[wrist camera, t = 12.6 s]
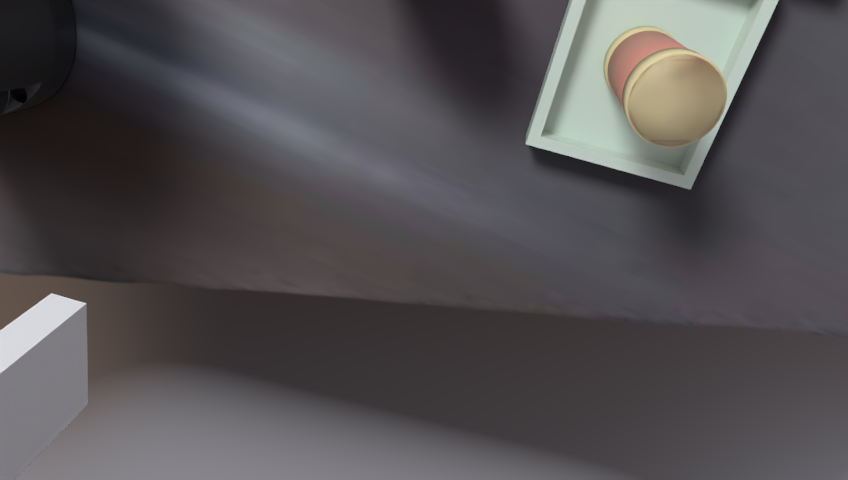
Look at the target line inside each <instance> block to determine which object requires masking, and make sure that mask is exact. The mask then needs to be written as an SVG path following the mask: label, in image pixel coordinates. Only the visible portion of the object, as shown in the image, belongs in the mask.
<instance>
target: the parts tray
mask: <svg viewBox="0 0 848 480" xmlns="http://www.w3.org/2000/svg"><path fill="white" fill-rule="evenodd" d="M778 1H779V0H569V3H568V6H567V9H566V12H565V15H564V18H563V22H562V25H561V28H560V31H559V34H558V37H557V40H556V43H555V46H554V50H553V53H552V56H551V59H550V62H549V65H548V68H547V71H546V74H545V78H544V81H543V84H542V87H541V90H540V93H539V96H538V99H537V102H536V106H535V109H534V112H533V115H532V118H531V121H530V124H529V127H528V130H527V134H526V144H527V145H530V146H534V147H537V148H541V149H545V150H548V151H552V152H556V153H559V154H563V155H566V156H570V157H574V158H577V159H581V160H585V161H588V162H592V163H595V164H599V165H603V166H606V167H610V168H614V169H617V170H621V171H624V172H628V173H632V174H635V175H639V176H643V177H646V178H650V179H653V180H657V181H661V182H664V183H668V184H672V185H675V186H679V187H682V188H686V189H690V190H691V188H692V185H693V183H694V181H695V179H696V177H697V175H698V172H699V170H700V168H701V166H702V164H703V162H704V160H705V157H706V155H707V153H708V151H709V149H710V147H711V145H712V142H713V140H714V138H715V136H716V134H717V132H718V130H719V127H720V125H721V123H722V121H723V119H724V117H725V115H726V112H727V110H728V108H729V106H730V104H731V102H732V100H733V97H734V95H735V93H736V91H737V89H738V87H739V84H740V82H741V80H742V78H743V76H744V74H745V72H746V69H747V67H748V65H749V63H750V61H751V59H752V57H753V54H754V52H755V50H756V48H757V46H758V44H759V42H760V39H761V37H762V35H763V33H764V31H765V29H766V27H767V24H768V22H769V20H770V18H771V16H772V14H773V12H774V9H775V7H776V5H777V3H778ZM639 26H652V27H656V28H659V29H661V30H663V31H665V32H667V33H668V34H670V35H671V36H672V37H674V38H675V39H676V40H677V42H679V43H680V44H682V45H683V46H685V47H686V48H688V49H690V50H693V51H695V52H697V53H699V54H701V55H702V56H704V57H706V58H707V59H709V60H710V61H711V62H713V63H714V64H715V65H716V66H717V67H718V69H719V70H720V71H721V73H722V75H723V77H724V79H725V82H726V87H727V102H726V106H725V109H724V112H723V114H722V116H721V118H720V120H719V121H718V123H717V124H716V126H715V127H714V128H713V129H712V130H711V131H710V132H709V133H708V134H707V135H705V136H704V137H703V138H701V139H699V140H698V141H696V142H694V143H691V144H689V145H686V146H682V147H676V148H665V147H659V146H655V145H652V144H650V143H648V142H646V141H645V140H643V139H642V138H641V137H639V136H638V135H637V134H636V132H635V131H634V130H633V128H632V127H631V125H630V123H629V121H628V120H627V118H626V116H625V113H624V110H623V107H622V105H621V103H620V102H619V100H618V98H617V97H616V96H615V95H614V94H613V92H612V91H611V89H610V88H609V86H608V84H607V82H606V80H605V77H604V72H603V63H604V58H605V55H606V52H607V50H608V48H609V47H610V45H611V44H612V42H613V41H614V40H615V39H616V38H617V37H618V36H619V35H621V34H622V33H624V32H625V31H627V30H629V29H632V28H635V27H639Z"/></svg>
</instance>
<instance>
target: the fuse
mask: <svg viewBox="0 0 848 480" xmlns="http://www.w3.org/2000/svg"><path fill="white" fill-rule="evenodd" d="M603 72H604V77H605V80H606V82H607V84H608V86H609V88H610V89H611V91H612V92H613V94H614V95H615V96H616V97H617V98H618V100H619V102H620V103H621V105H622V107H623V110H624V113H625V116H626V118H627V120H628V121H629V123H630V125H631V127H632V128H633V130H634V131H635V132H636V134H637V135H638V136H639V137H641V138H642V139H643V140H645V141H646V142H648V143H650V144H652V145H655V146H659V147H665V148H676V147H682V146H686V145H689V144H691V143H694V142H696V141H698V140H699V139H701V138H703V137H704V136H705V135H707V134H708V133H709V132H710V131H711V130H712V129H713V128H714V127H715V126H716V124H717V123H718V121H719V120H720V118H721V116H722V114H723V112H724V109H725V106H726V102H727V87H726V82H725V79H724V77H723V75H722V73H721V71H720V70H719V69H718V67H717V66H716V65H715V64H714V63H713V62H711V61H710V60H709V59H707V58H706V57H704V56H702V55H701V54H699V53H697V52H695V51H693V50H690V49H688V48H686V47H685V46H683V45H682V44H680V43H679V42H677V40H676V39H675V38H674V37H672V36H671V35H670V34H668V33H667V32H665V31H663V30H661V29H659V28H656V27H652V26H639V27H635V28H632V29H629V30H627V31H625V32H624V33H622V34H621V35H619V36H618V37H617V38H616V39H615V40H614V41H613V42H612V44H611V45H610V47H609V48H608V50H607V52H606V55H605V58H604V63H603Z"/></svg>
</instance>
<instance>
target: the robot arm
mask: <svg viewBox="0 0 848 480" xmlns="http://www.w3.org/2000/svg"><path fill="white" fill-rule="evenodd" d="M75 47H76V28H75V20H74V14H73V10H72V6H71V2H70V0H0V115H4V114H10V113H14V112H17V111H20V110H23V109H27V108H30V107H33V106H35V105H38V104H40V103H42V102H44V101H46V100H47V99H49V98H50V97H51V96H53V95H54V94H55V93H56V92H57V91H58V90H59V89H60V87H61V86H62V85H63V83H64V82H65V80H66V78H67V76H68V74H69V72H70V70H71V67H72V64H73V60H74V55H75ZM87 368H88V367H87V304H86V303H83V302H79V301H76V300H73V299H69V298H66V297H63V296H59V295H56V294H52V293H51V294H50V295H48V296H47V297H46V298H44V299H43V300H41V301H40V302H39V303H37V304H36V305H35V306H33V307H32V308H31V309H29V310H28V311H26V312H25V313H24V314H22V315H21V316H20V317H18V318H17V319H16V320H14V321H13V322H11V323H10V324H9V325H7V326H6V327H5V328H3V329H2V330H0V480H16V478H17V477H18V476H19V475H20V474H21V473H22V472H23V471H24V470H25V469H26V468H27V467H28V466H29V465H30V464H31V463H32V462H33V461H34V460H35V458H37V457H38V456H39V454H40V453H41V452H42V451H43V450H44V449H45V448H46V447H47V446H48V445H49V444H50V443H51V442H52V441H53V440H54V439H55V438H56V437H57V436H58V435H59V434H60V433H61V432H62V430H63V429H64V428H65V427H66V426H67V425H68V424H69V423H70V422H71V421H72V420H73V419H74V418H75V417H76V416H77V415H78V414H79V413H80V412H81V411H82V409H83V408H85V407H86V405H87V404H88V371H87Z"/></svg>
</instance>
